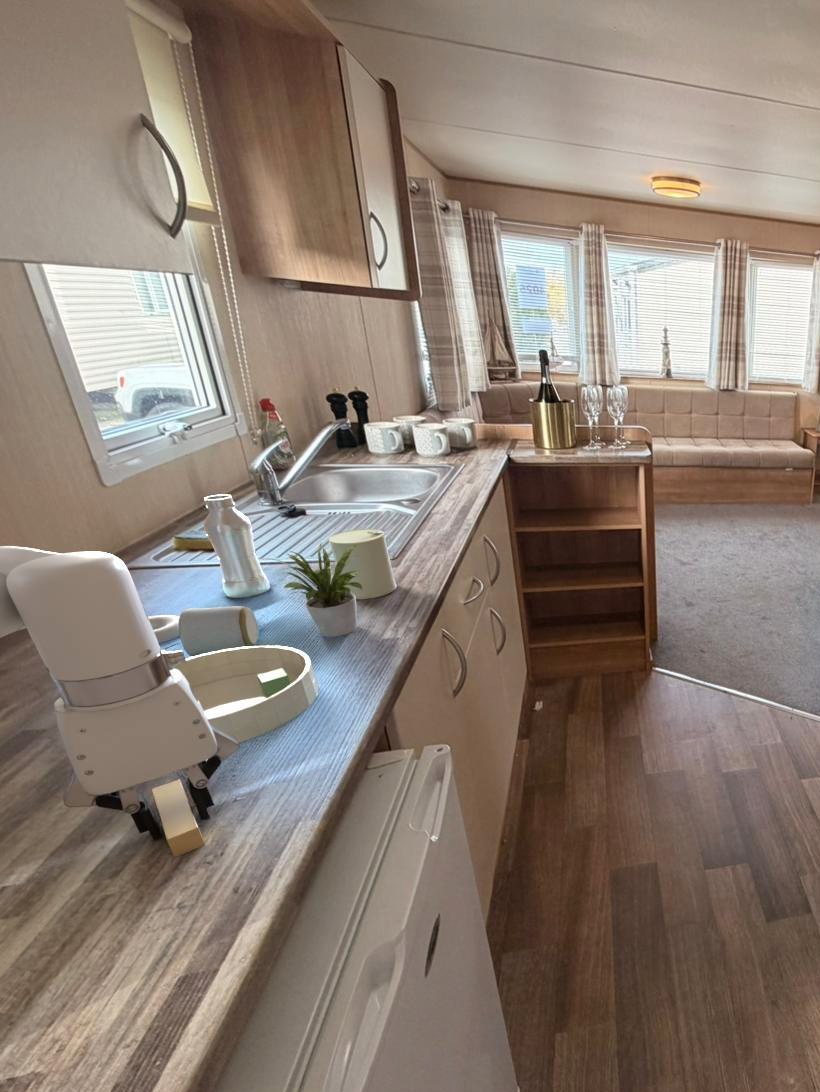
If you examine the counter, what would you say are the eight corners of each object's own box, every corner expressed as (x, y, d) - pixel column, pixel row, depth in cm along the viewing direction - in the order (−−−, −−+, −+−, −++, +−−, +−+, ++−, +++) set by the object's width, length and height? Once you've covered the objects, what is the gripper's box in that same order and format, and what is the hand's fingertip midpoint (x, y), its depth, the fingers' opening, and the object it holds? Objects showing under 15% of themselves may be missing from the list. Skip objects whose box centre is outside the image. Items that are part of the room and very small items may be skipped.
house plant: (273, 661, 101) (242, 566, 95) (284, 626, 112) (256, 538, 105) (379, 643, 108) (356, 553, 102) (379, 612, 119) (359, 529, 112)
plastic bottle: (227, 597, 122) (192, 495, 114) (272, 590, 126) (241, 491, 118) (228, 609, 117) (191, 503, 109) (274, 601, 121) (242, 498, 113)
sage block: (268, 701, 90) (261, 682, 89) (262, 692, 92) (256, 675, 91) (293, 693, 92) (287, 675, 91) (288, 685, 94) (282, 667, 93)
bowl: (72, 746, 81) (55, 712, 78) (238, 665, 100) (228, 637, 98) (210, 773, 77) (196, 739, 75) (355, 685, 96) (347, 656, 94)
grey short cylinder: (254, 655, 103) (240, 612, 100) (188, 665, 99) (171, 620, 96) (268, 629, 111) (255, 588, 108) (207, 637, 108) (192, 595, 105)
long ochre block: (158, 805, 72) (151, 788, 71) (187, 795, 74) (179, 778, 73) (174, 857, 65) (166, 839, 64) (205, 845, 67) (197, 827, 66)
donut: (211, 630, 110) (148, 628, 109) (204, 612, 109) (141, 610, 108) (162, 658, 101) (93, 656, 100) (154, 639, 99) (84, 637, 99)
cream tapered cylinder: (401, 592, 127) (388, 536, 122) (346, 603, 122) (330, 544, 117) (392, 578, 134) (379, 523, 129) (339, 587, 128) (324, 531, 123)
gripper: (217, 638, 70) (265, 772, 77) (-16, 695, 58) (68, 845, 66) (231, 662, 66) (282, 802, 73) (-17, 729, 54) (73, 886, 61)
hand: (180, 821), depth 69 cm, fingers open, 3 cm apart
